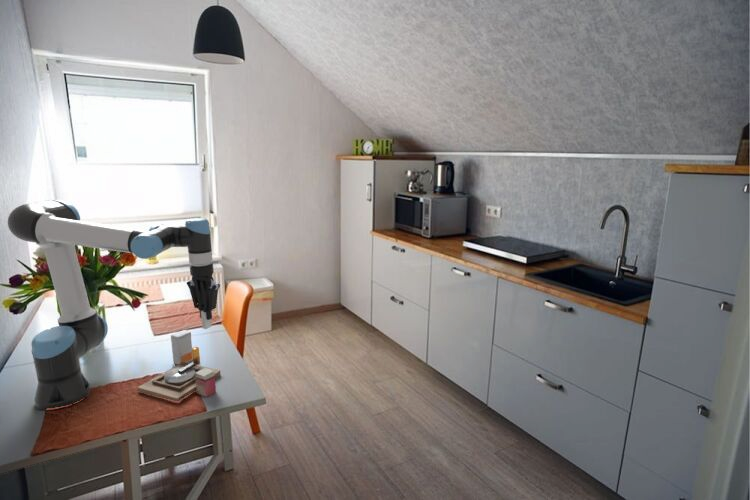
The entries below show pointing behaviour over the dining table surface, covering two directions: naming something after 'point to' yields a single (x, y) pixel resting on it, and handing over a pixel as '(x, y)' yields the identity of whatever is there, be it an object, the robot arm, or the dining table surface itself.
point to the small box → (205, 382)
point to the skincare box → (181, 347)
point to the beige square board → (172, 391)
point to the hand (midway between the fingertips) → (207, 327)
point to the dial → (183, 371)
